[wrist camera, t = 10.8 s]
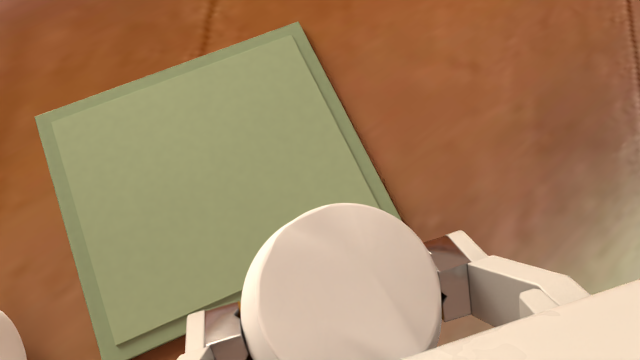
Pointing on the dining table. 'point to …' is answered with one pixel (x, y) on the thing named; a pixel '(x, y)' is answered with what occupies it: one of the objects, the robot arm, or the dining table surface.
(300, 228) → the supplement bottle
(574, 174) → the dining table surface
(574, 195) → the dining table surface
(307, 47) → the placemat
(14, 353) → the white spork utensil
